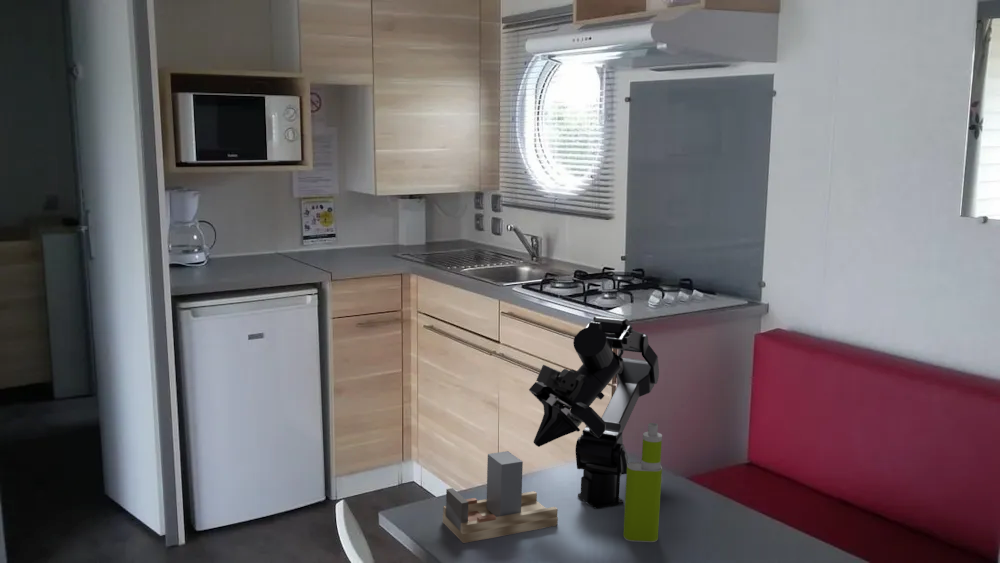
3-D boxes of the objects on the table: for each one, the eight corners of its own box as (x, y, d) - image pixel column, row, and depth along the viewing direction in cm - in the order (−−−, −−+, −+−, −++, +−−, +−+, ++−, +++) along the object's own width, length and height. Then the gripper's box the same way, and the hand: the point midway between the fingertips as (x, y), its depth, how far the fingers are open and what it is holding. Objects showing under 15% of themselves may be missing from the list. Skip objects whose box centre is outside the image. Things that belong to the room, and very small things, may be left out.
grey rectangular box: (506, 504, 157) (508, 451, 156) (520, 516, 152) (522, 461, 151) (486, 508, 156) (487, 453, 154) (500, 520, 151) (501, 464, 149)
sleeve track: (533, 506, 162) (534, 472, 161) (557, 525, 154) (558, 490, 153) (442, 522, 154) (443, 486, 153) (463, 543, 146) (464, 506, 145)
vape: (660, 542, 148) (666, 428, 145) (624, 541, 149) (630, 427, 146) (657, 532, 152) (663, 421, 149) (622, 531, 152) (628, 420, 149)
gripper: (540, 338, 163) (484, 402, 160) (593, 361, 146) (533, 433, 143) (575, 376, 167) (521, 438, 164) (631, 402, 151) (573, 473, 148)
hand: (535, 444), depth 155 cm, fingers closed
